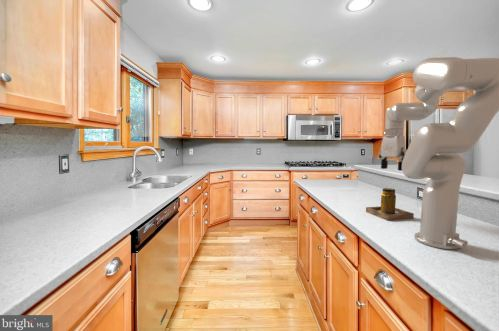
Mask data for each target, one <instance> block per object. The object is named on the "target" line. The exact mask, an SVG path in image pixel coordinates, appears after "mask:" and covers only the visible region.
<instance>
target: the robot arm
mask: <svg viewBox="0 0 499 331" xmlns="http://www.w3.org/2000/svg"><path fill="white" fill-rule="evenodd" d="M412 81H413V83H414V84H415V85H416V86H415V88H414V95H415V97H416V99H418V101H419V102H398V103H395V104H393V105H392V106H390V107H387V108H386V110H385V121H384V132H383V134H384V136H383V138H382V141H381V147H380V150H379V151H378V152H377V153H378V157H379V159H380V161H381V162H380V169H382V170H383V169H385V170H387V169H388V163H389V160H388V159H389V158H397V160H398V161H397V170H398V171H401V172H402V173H403V175H404V176H405V177H406V178H408V179H411V180H428V181H427V183H426V184H425V186H424V187H423V191H422V197H421V198H422V200H421V212H420V213H421V214H420V226H419V229H420V230H419V231H418V232H416V233H414V239H415V240H416V241H417V242H419V243H421V244H424V245H425V246H430V247H433V248H437V249H443V250H458V249H466V248H467V247H468V246H467V245H468V243H469V242H468V241H467V240H466V239H461V238H460V233H457V220H458V219H457V218H458V209H459V208H458V207H459V198H460V197H459V196H460V189H461V184H462V183H461V182H462V180H463V177H464V174H465V171H466V166H467V165H466V161H465V159H464V157H462V155H460V154H463V153H464V154H465V153H467V152H469V151H471V150H472V149H473V148H474V147H475V145H476V144H477V143H478V141H479V140H480V138H481V137H482V136H483V134H484V133H485V131H486V130H487V128H488V127H489V125H490V124H491V122H492V121H493V119H494V117H495V116H496V115H497V114H498V112H499V58H496V57H482V58H481V57H480V58H463V57H462V58H461V57H458V56H457V57H454V56H451V57H449V56H448V57H447V56H446V57H429V58H425V59H423V60H422V61H420V62H419V63H418V65H416V67H415V68H414V70H413V72H412ZM459 91H460V92H467V91H472V92H473V91H475V92H474V93H473V94H472V95H471V96H469V97H467V98H466V99H465V100H463V101H462V102H461V103H459V105H458V106H457V107H456V109H455V111H454V113H453V114H452V116H451V117H450V119H449V120H448V121H446V122H431V123H430V122H429V123H426V124H424V125H421V126H420V127H419V128H418V129H417V130H416V132H415V133H414V135H413V137H412V140H411V141H410V143H409V145H408V148H407V149H406V145H407V144H406V138H405V134H404V133H405V131H404V130H405V122H406V121H422V120H425V119H427V118H428V117H430V116H431V115H432V114H433V113H434V112H436V111H437V109H438V108H439V105H440V98H441V97H442V96H443V95H444V94H445V93H447V92H459Z"/></svg>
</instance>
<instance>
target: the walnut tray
mask: <svg viewBox="0 0 499 331" xmlns="http://www.w3.org/2000/svg"><path fill="white" fill-rule="evenodd" d="M379 211H381V205H380V206H367V207H366V208H365V213H367V214H370V215H373V216H374V217H378V218H380V219H383V220H385V221H400V220H411V219H412V220H413V219H414V216H415V214H414V213H413V212H410V211H407V210H403V209H400V208H397V207H395V212H398V213H399V214H391V215H388V214H385V213H382V212H379Z"/></svg>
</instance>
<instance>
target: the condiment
mask: <svg viewBox="0 0 499 331" xmlns="http://www.w3.org/2000/svg"><path fill="white" fill-rule="evenodd" d="M380 196H381V198H380V199H381V200H380V206H381V211H379V212H382V213H385V214H388V215H391V214H399V213H398V212H395V208H396V205H397V204H396V201H397V196H396V189H394V188H387V187H385V188H382V192H381V195H380Z"/></svg>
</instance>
